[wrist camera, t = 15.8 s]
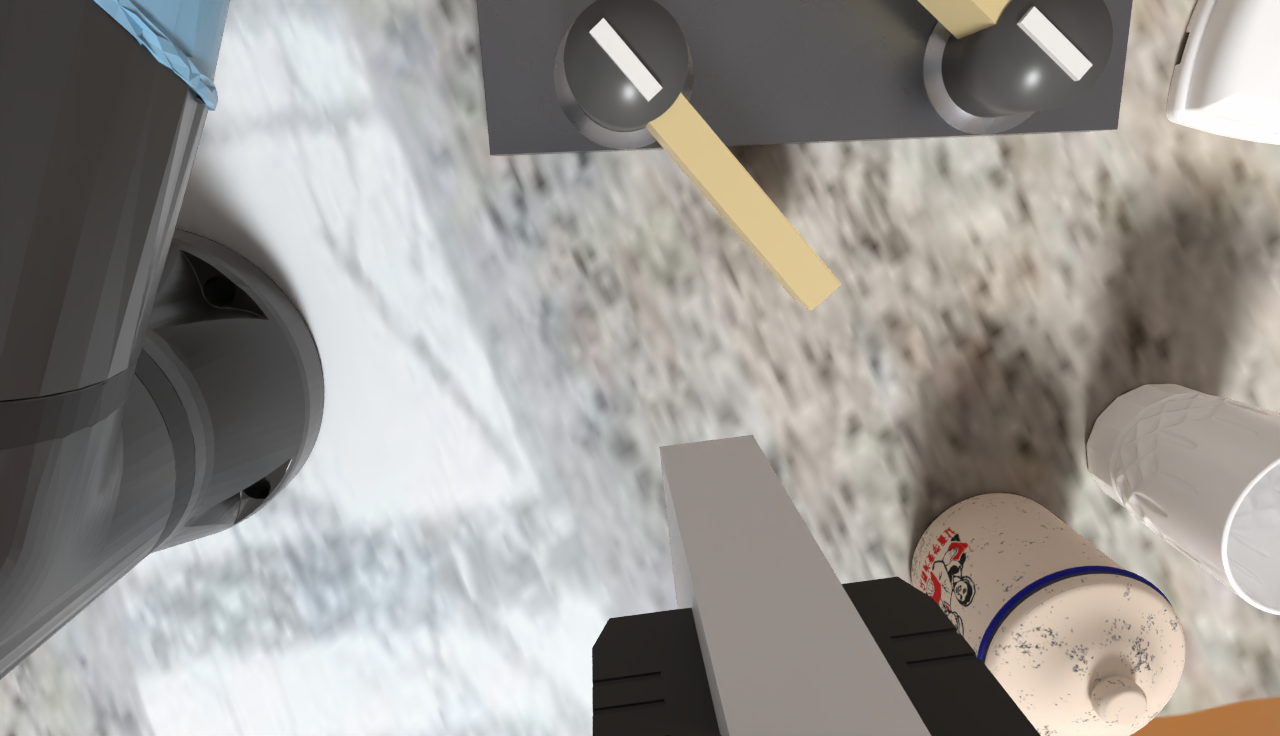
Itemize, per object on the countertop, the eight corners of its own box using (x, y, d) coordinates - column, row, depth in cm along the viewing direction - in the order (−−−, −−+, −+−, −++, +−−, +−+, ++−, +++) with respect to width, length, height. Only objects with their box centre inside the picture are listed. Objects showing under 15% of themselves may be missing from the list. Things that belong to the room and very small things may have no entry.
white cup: (1198, 345, 38) (1396, 404, 29) (1236, 472, 40) (1433, 567, 31) (1054, 412, 39) (1200, 492, 29) (1098, 533, 41) (1249, 645, 31)
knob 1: (547, 71, 32) (536, 54, 27) (627, -8, 31) (630, -39, 26) (762, 315, 35) (784, 337, 30) (839, 248, 34) (874, 260, 29)
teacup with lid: (898, 500, 40) (1011, 630, 29) (1066, 473, 40) (1245, 592, 29) (912, 689, 43) (1019, 872, 32) (1068, 663, 43) (1231, 838, 32)
